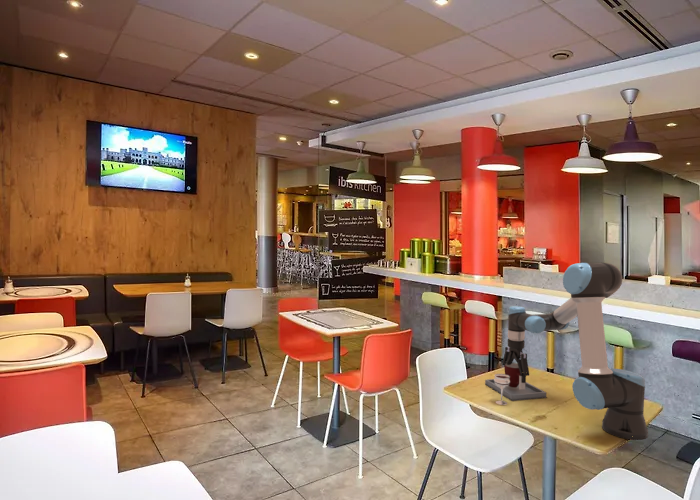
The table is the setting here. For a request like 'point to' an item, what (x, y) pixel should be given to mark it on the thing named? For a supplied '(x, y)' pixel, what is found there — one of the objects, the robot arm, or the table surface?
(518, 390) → the tray
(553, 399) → the table surface
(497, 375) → the wineglass
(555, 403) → the table surface
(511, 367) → the mug
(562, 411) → the table surface
